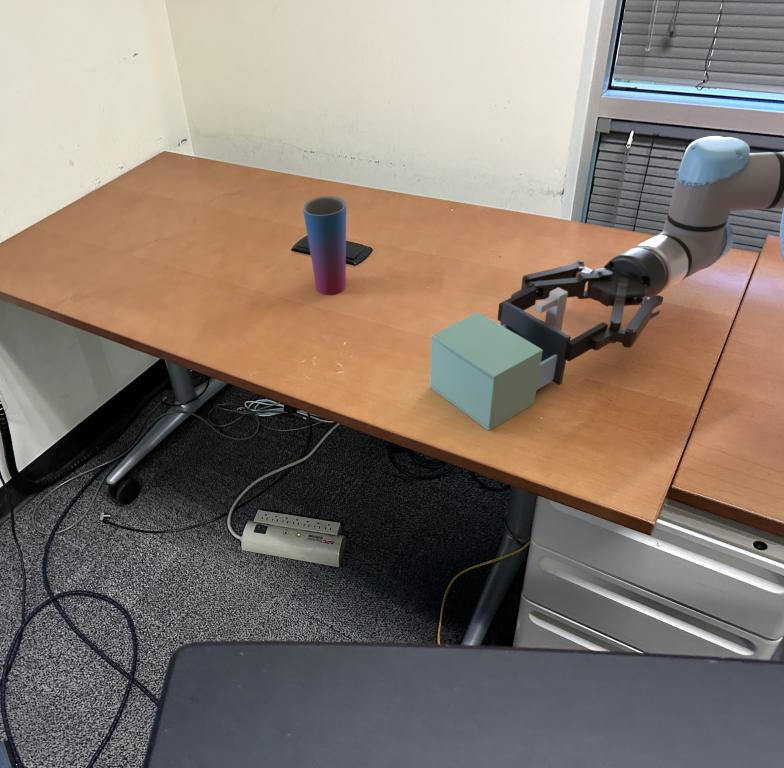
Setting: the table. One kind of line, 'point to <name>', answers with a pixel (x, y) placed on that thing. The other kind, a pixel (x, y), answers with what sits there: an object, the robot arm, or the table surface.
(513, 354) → the box
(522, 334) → the dark grey drawer
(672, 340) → the table surface
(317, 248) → the cup
